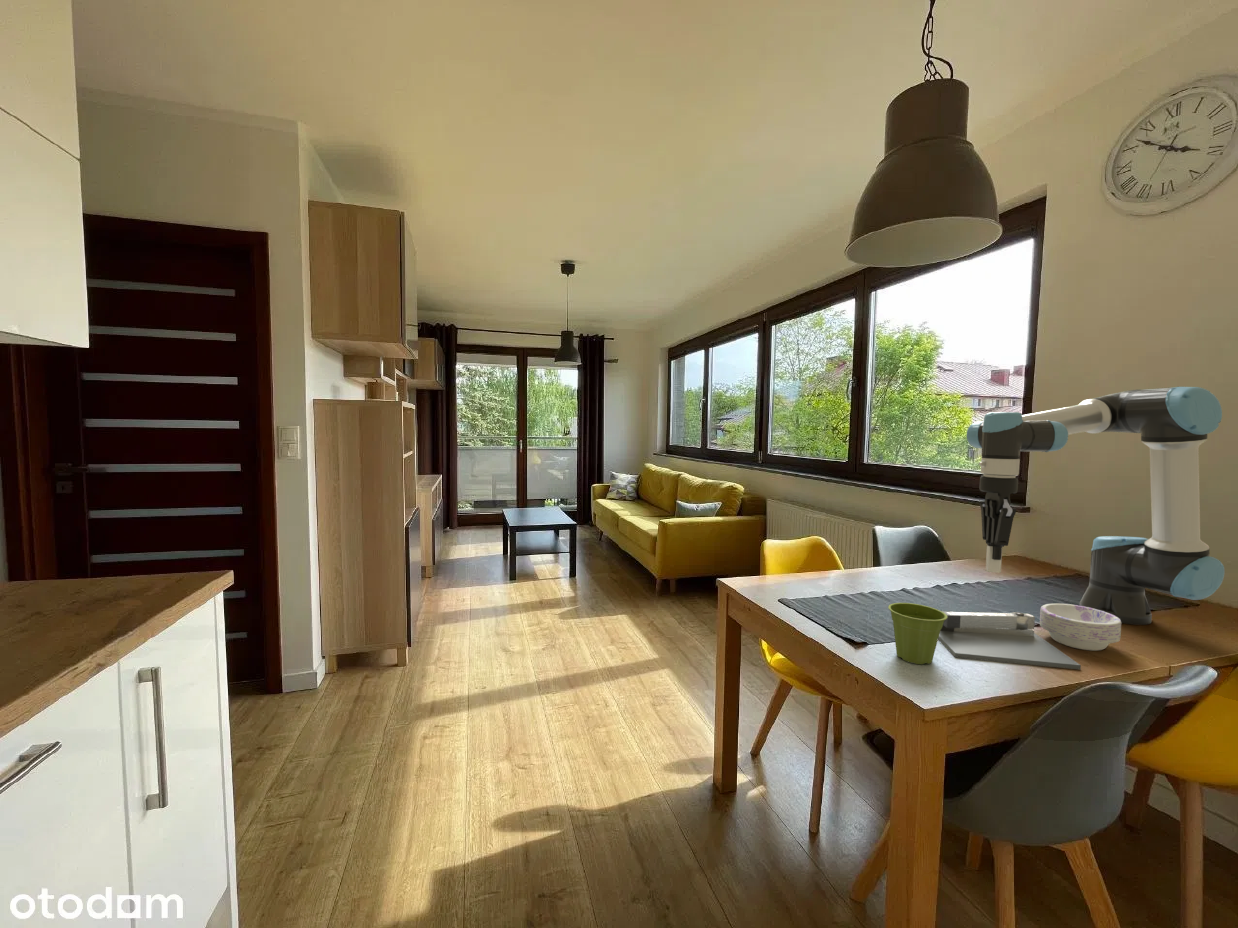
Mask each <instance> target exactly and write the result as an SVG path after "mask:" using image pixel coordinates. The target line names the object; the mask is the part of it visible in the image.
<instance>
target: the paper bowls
mask: <svg viewBox="0 0 1238 928" xmlns="http://www.w3.org/2000/svg"><path fill="white" fill-rule="evenodd" d="M1039 615H1040V616H1039V626H1040V627H1041V628H1042V629H1044V630H1045V631H1047V632H1048V634H1049V636H1050V637H1051V639H1052V640H1054V641H1056V642H1057V643H1059V644H1062V645H1064V646H1067V647H1070V648H1074V649H1079V650H1084V651H1102V650H1104V649H1106V648H1107V647H1108V646H1109V644H1116V643H1118V642H1120V640H1121V635H1122V634H1121V633H1122V623H1121V620H1120V619H1119V618H1118V617H1116V616H1114V615H1112V614H1110V613H1107V612H1104V611H1101V610H1097V609H1093V608H1089V607H1084V606H1080V605H1077V604H1070V603H1046V604H1043V605H1041V607H1040V611H1039Z"/></svg>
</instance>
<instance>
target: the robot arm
mask: <svg viewBox="0 0 1238 928" xmlns="http://www.w3.org/2000/svg"><path fill="white" fill-rule="evenodd" d="M1221 405H1222V404H1221V402H1220V401H1219V399H1218V397H1217V396H1216V395H1215V394H1214V393H1212V392H1211V391H1210V390H1208V389H1207V388H1203V387H1200V386H1174V387H1173V386H1172V387H1160V388H1159V387H1158V388H1157V387H1156V388H1145V389H1130V390H1128V389H1127V390H1124V391H1119V392H1115V393H1110V394H1107V395H1102V396H1098V397H1094V398H1089V399H1084V400H1082V401H1081V402H1080V403H1079V404H1076V405H1071V406H1066V407H1060V408H1054V409H1049V410H1044V411H1038V412H1034V413H1027V414H1022V413H1021V412H1019V411H1018V412H1016V411H999V412H997V411H995V412H993V411H991V412H987V413H985V415H984V417H983V420H981V421H975V422H973V423H971V424H970V425H969V427H968V428H967V430H966V440H967V442H968V444H969V445H970V446H972V447H973V448H975V449H981V456H980V457H981V458H980V459H981V460H980V462H979V463H978V465H979V466H980V474H981V476H980V477H979V486H978V487H979V488H978V489H979V491H980V492H982V493H983V492H984V493H986V494H985V496H984V497H985V499H984V500H980V501H979V506H980V507H979V508H980V511H981V512H980V513H981V531H982V540H983V541H985V544H986V555H985V556H986V557H985V572H987V573H993V574H994V573H996V574H997V573H998V574H999V573H1002V559H1003V558H1002V557H1003V547H1007V546H1009V542H1010V538H1011V532H1012V527H1013V521H1014V518H1015V515H1016V513H1017V509H1016V508H1015V507H1011V494H1013V495H1014V494H1017V493H1018V489H1019V479H1018V478H1017V476H1019V475H1020V463H1021V462H1020V461H1021V458H1020V457H1021V455H1020V454H1021V452H1041V453H1043V452H1044V453H1049V452H1056V451H1057V452H1058V451H1059V450H1061V449H1063V448H1064V447H1065V446H1066V444H1067V443H1068V440H1069V439H1068V438H1069V435H1070V436H1071V435H1074V434H1080V433H1085V432H1086V433H1088V434H1100V433H1129V434H1132V433H1134V434H1140V442H1141V443H1142V444H1143V445H1145V446H1146V447H1148V448H1149V472H1150V476H1149V477H1150V503H1151V504H1150V505H1151V506H1150V507H1151V508H1150V509H1151V510H1150V511H1151V512H1150V513H1151V537H1150V538H1146V537H1139V536H1124V535H1123V536H1122V535H1121V536H1120V535H1119V536H1117V535H1113V536H1112V535H1107V536H1106V535H1102V536H1097V537H1095V538H1094V539H1093V541H1092V548H1091V549H1090V551H1091V553H1090V554H1091V555H1090V568H1089V569H1090V571H1089V583H1088V586H1087V588H1086V590H1085V592H1084V594H1083V595H1082V597H1081V599H1080V601H1079V606H1084V607H1089V608H1093V609H1097V610H1101V611H1104V612H1107V613H1110V614H1112V615H1114V616H1116V617H1118V618H1119V619H1120V620H1121V624H1125V625H1126V624H1127V625H1138V626H1143V625H1150V624H1152V617H1153V616H1152V615H1153V614H1152V611H1151V608H1150V606H1149V603H1148V599H1147V597H1146V589H1148V590H1152V591H1156V592H1159V593H1163V594H1167V595H1170V596H1173V597H1176V598H1184V599H1188V600H1192V601H1199V600H1203V599H1207V598H1208V597H1211V596H1212V595H1213V594H1214V593H1215V592H1216V591H1217V590H1218V589H1220V587H1221V585H1222V583H1223V581H1224V578H1225V573H1226V572H1225V566H1224V564H1223V563H1222V561H1221V560H1220V559H1218V558H1216V557H1213V556H1211V555H1210V546H1209V544H1207V543H1206V542H1205V541H1203V540H1202V539H1201V511H1200V510H1201V507H1200V502H1201V501H1200V499H1201V498H1200V456H1199V455H1200V453H1199V451H1200V450H1199V449H1200V448H1199V447H1200V446H1201V445H1202V444H1204V443H1205V442H1207V441H1208V435H1209V434H1211V433H1213V432H1215V431H1216V430H1217V429H1218V428H1219V427H1220V424H1219V423H1221V422H1222V419H1223V410H1222V406H1221Z"/></svg>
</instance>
